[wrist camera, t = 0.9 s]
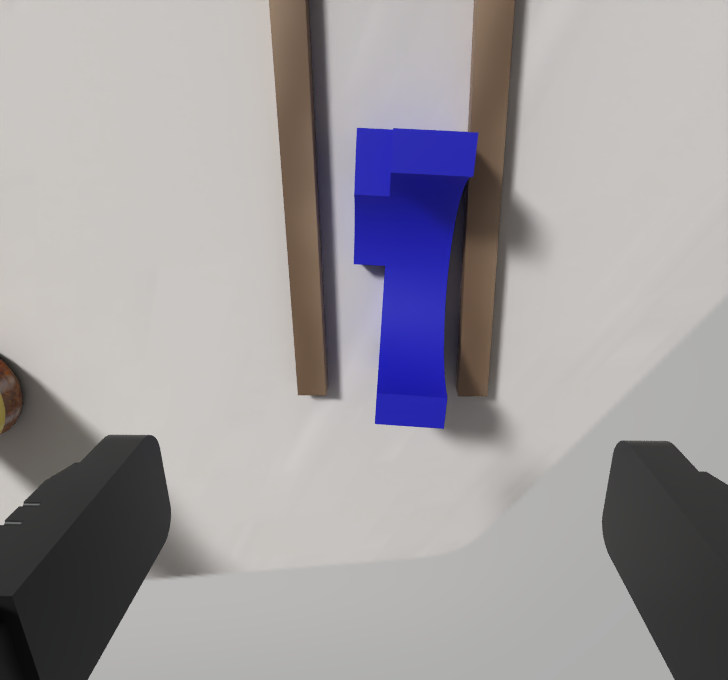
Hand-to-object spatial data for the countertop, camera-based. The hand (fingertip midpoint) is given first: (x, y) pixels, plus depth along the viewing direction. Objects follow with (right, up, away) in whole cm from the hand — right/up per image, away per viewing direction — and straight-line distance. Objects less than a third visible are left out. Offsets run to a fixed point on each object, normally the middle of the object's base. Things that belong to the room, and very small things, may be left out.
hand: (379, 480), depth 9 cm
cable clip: (+2, +7, +17) cm, 19 cm away
